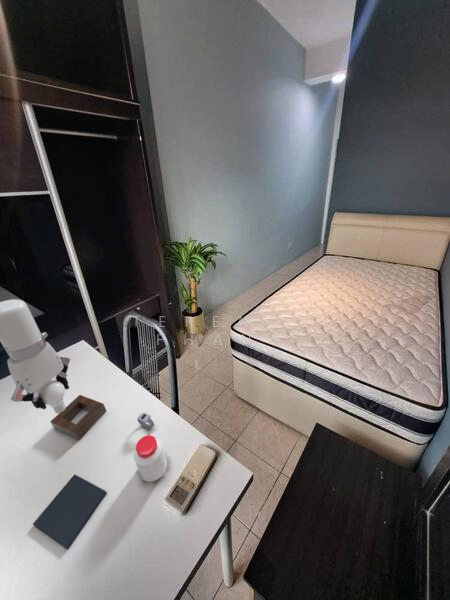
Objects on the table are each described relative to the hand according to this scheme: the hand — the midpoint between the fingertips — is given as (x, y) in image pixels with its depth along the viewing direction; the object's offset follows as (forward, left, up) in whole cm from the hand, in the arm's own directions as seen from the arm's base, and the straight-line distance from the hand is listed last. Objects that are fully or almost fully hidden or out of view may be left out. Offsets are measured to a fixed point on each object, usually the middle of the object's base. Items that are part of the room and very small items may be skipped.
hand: (53, 396), depth 70 cm
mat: (+14, -14, -21) cm, 29 cm away
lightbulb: (0, 0, -6) cm, 6 cm away
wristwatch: (+18, +12, -22) cm, 31 cm away
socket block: (-6, +6, -21) cm, 23 cm away
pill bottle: (+28, +2, -22) cm, 35 cm away
